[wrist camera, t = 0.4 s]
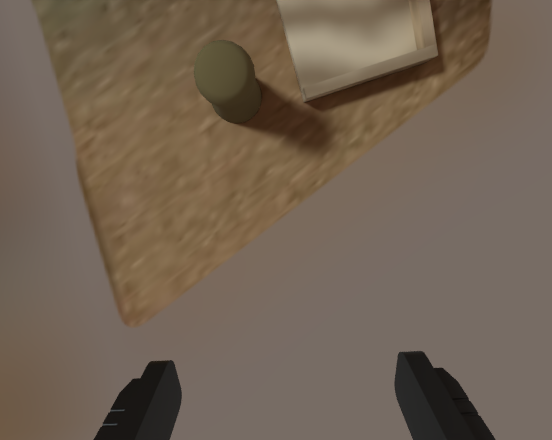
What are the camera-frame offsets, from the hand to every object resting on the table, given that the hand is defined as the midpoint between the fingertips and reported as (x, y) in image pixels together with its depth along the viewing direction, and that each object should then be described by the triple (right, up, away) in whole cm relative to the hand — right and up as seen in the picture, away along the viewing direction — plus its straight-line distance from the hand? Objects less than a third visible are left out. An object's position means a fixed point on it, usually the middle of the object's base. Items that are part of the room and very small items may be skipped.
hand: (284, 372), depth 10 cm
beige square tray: (+8, +29, +22) cm, 37 cm away
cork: (-5, +20, +23) cm, 31 cm away
